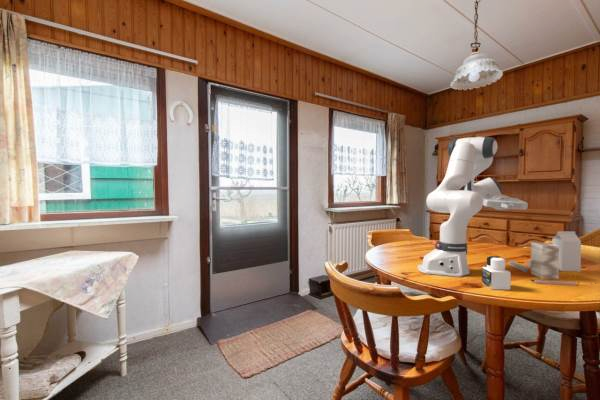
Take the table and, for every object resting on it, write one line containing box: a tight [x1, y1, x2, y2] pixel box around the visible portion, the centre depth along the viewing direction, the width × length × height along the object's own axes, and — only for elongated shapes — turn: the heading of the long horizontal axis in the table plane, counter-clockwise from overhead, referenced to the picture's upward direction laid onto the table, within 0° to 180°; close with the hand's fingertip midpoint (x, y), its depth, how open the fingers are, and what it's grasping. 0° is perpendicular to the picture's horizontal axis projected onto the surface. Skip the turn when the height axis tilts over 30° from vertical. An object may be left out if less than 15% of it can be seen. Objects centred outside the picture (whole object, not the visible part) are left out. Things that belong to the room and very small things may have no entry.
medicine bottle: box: [481, 255, 512, 291], centre depth 110 cm, size 7×7×12 cm
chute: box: [508, 260, 578, 286], centre depth 125 cm, size 14×27×3 cm, turn 167°
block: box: [530, 242, 560, 280], centre depth 119 cm, size 6×8×14 cm
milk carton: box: [551, 230, 582, 273], centre depth 130 cm, size 7×7×19 cm
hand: (510, 206), depth 144 cm, fingers closed
